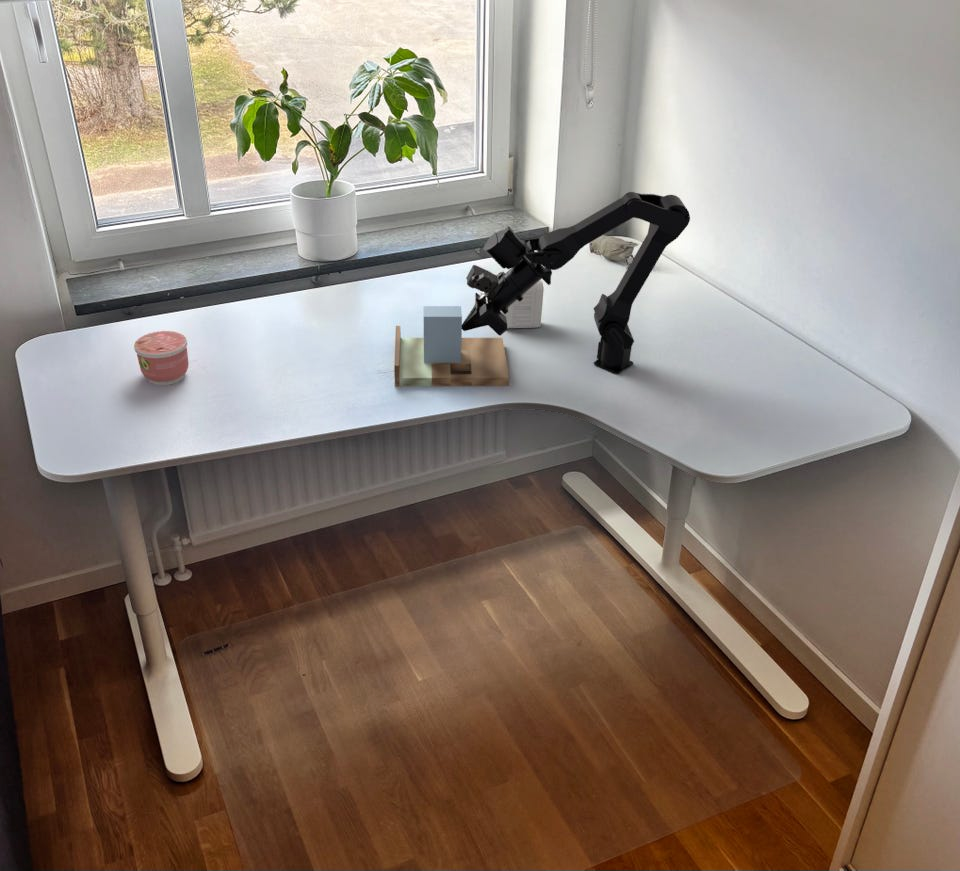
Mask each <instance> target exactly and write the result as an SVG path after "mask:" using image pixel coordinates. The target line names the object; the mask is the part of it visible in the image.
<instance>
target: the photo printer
mask: <svg viewBox="0 0 960 871" xmlns="http://www.w3.org/2000/svg"><path fill="white" fill-rule="evenodd" d="M543 282H544V281H543V279H541V280H539V281H538V282H537V283H536V284H535V285H534V286H532V287H531V288H530V289H529V290H528V291H527V292H525V293H524V294H523V295H522V296H523V300H521V301H520V302H519V301H518V300H516V301H515V302H514V303H513V304H511V305H510V306H509V307H508V312H507V313H506V314H504V313H503V312H502V311H500V312H501V313H502V314H503V315H504V316H505V317H506V319H507V329H532V328H533V329H536V328H540V327H541V325H542V314H543V304H544V303H543V302H544V291H545V290H544V283H543Z"/></svg>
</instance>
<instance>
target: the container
mask: <svg viewBox="0 0 960 871" xmlns="http://www.w3.org/2000/svg"><path fill="white" fill-rule="evenodd" d="M187 346H188V339H187V337H186V336H185V335H184V334H183V333H180V332H176V331H173V330H161V331H160V330H159V331H153V332H149V333H147V334H144V335H142V336H140V337H139V338H138V339H136V340H135V342H134V343H133V348H134V352H135V353H136V357H137V360H138V366H139V369H140V372H141V374H142V375H143V377H145V379H147V380H148V381H149V382H150V383H151V384H153V385H158V386H167V385H172V384H176V383H178V382H181V381H182V380H183V379H184V378H185V376H186V373H187V372H188V369H189V366H190V365H189V356H188V354H189V353H188V348H187Z"/></svg>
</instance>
